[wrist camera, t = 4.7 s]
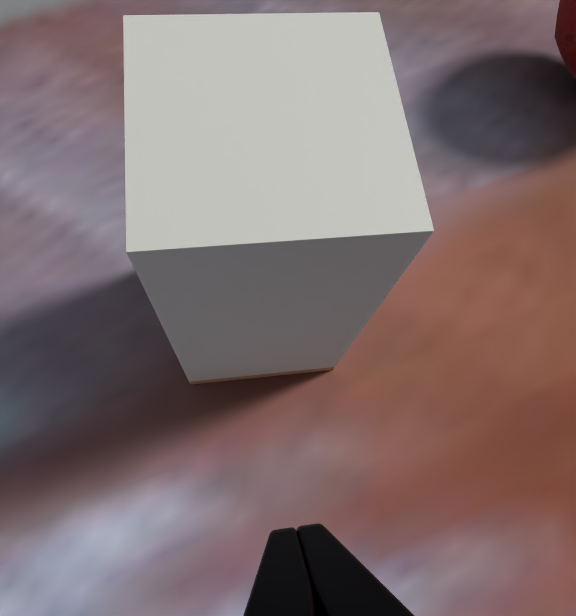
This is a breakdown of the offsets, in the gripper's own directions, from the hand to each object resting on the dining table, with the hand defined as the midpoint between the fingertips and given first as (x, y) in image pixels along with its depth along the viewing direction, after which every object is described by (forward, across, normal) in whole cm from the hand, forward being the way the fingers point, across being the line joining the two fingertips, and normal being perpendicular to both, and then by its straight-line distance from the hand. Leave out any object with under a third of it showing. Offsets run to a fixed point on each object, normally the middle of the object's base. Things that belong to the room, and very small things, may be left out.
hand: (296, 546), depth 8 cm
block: (+9, 0, 0) cm, 9 cm away
